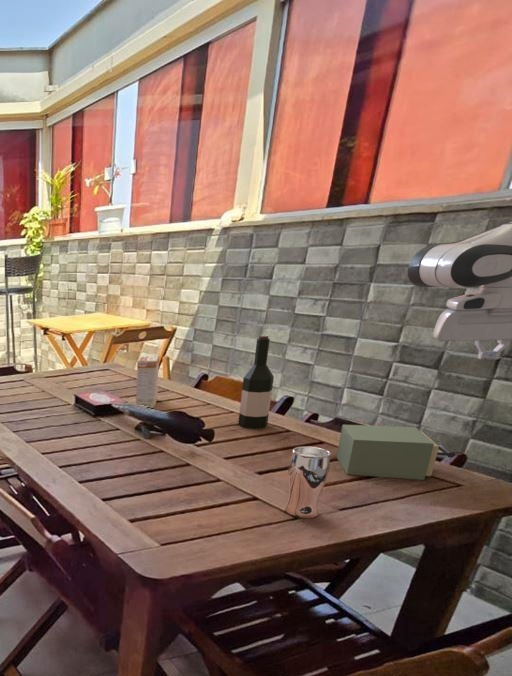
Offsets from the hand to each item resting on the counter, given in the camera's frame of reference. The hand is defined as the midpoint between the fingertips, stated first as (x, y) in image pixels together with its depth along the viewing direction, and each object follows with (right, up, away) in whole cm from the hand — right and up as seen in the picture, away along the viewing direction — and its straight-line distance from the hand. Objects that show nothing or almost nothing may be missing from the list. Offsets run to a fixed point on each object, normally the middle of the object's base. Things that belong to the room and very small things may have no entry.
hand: (487, 358), depth 116 cm
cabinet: (-15, -27, +12) cm, 33 cm away
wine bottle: (-21, -13, +51) cm, 56 cm away
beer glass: (-48, -36, -4) cm, 60 cm away
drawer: (-12, -26, +10) cm, 30 cm away
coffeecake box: (-40, -3, +87) cm, 96 cm away
